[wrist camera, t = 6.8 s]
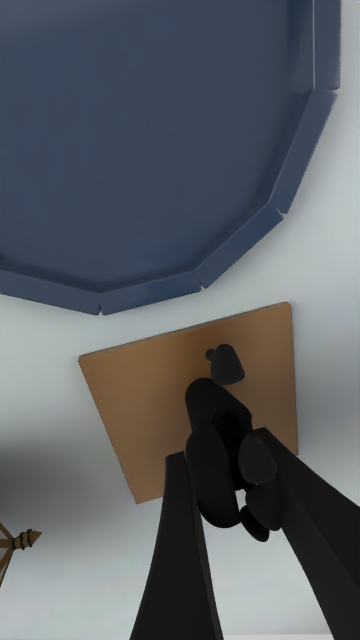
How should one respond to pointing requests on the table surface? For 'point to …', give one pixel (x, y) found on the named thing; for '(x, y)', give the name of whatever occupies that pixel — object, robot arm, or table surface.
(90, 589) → the table surface
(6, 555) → the game die
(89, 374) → the cork coaster
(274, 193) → the plate
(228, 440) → the wireless earbuds
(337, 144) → the table surface
